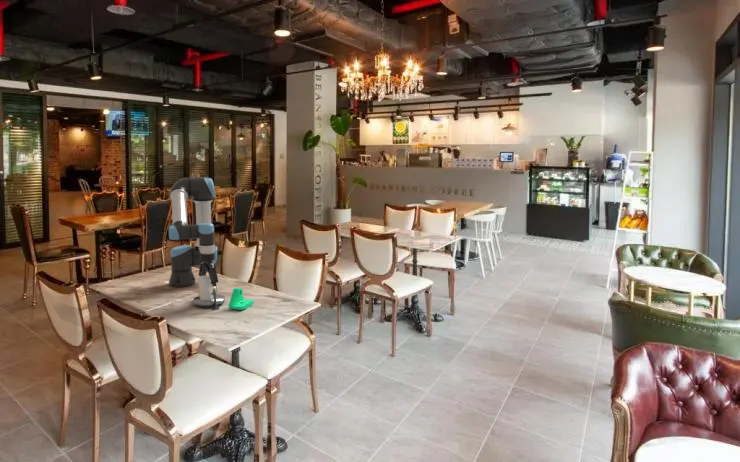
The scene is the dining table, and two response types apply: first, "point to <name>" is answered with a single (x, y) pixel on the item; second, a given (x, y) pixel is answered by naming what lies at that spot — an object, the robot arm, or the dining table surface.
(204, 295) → the mug
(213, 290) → the gauge post
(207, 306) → the turntable base
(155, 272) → the dining table surface
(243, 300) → the camera mount
